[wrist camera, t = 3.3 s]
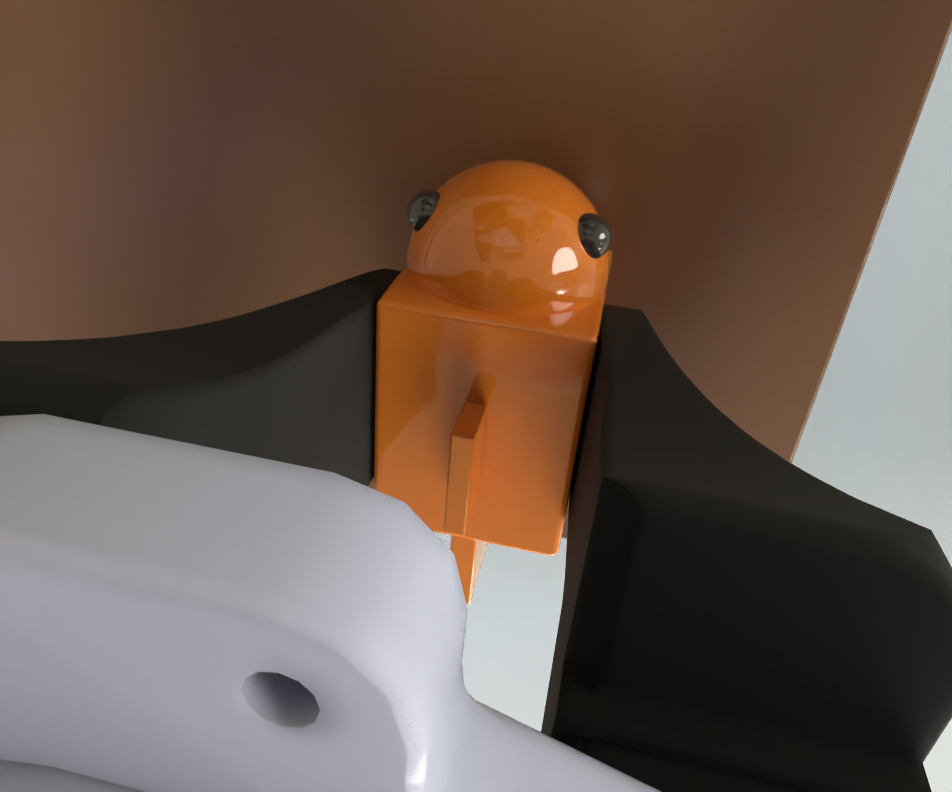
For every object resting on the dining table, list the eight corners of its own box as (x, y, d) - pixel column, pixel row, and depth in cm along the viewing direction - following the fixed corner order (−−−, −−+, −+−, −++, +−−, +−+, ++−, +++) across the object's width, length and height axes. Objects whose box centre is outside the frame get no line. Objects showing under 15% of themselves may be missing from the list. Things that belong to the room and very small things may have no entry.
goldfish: (567, 499, 14) (537, 668, 11) (423, 470, 15) (353, 627, 12) (632, 148, 11) (617, 240, 8) (443, 124, 11) (350, 201, 8)
